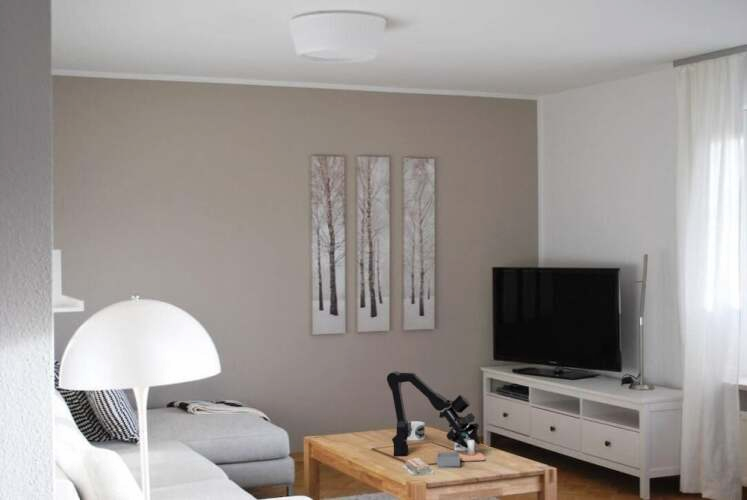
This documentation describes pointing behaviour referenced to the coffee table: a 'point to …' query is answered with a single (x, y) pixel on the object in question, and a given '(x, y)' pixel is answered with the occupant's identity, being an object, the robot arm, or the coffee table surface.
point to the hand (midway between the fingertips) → (473, 445)
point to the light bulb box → (460, 447)
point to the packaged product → (417, 467)
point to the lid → (471, 453)
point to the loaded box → (448, 460)
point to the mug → (417, 431)
